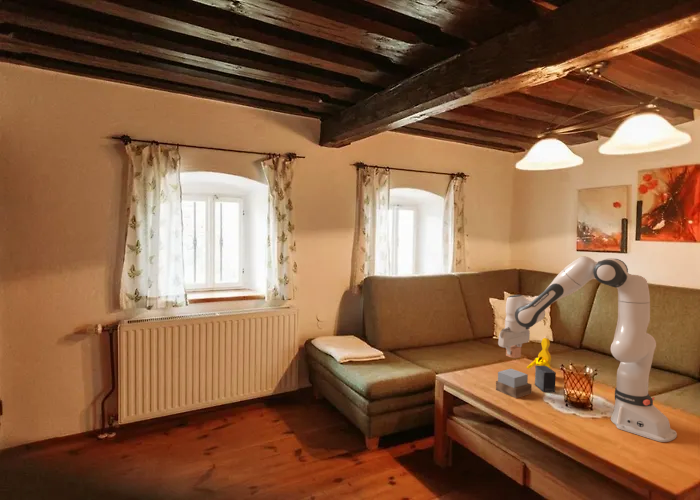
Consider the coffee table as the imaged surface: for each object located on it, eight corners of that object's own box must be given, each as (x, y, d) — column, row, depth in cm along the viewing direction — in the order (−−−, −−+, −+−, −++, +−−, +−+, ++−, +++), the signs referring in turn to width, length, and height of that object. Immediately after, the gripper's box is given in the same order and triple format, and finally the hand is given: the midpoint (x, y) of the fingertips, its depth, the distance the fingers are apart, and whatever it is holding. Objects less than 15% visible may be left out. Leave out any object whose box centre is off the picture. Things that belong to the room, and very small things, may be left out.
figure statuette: (524, 373, 232) (524, 335, 231) (532, 371, 236) (533, 334, 234) (552, 384, 216) (553, 343, 215) (561, 381, 220) (562, 341, 219)
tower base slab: (531, 394, 204) (531, 384, 204) (515, 399, 198) (516, 389, 198) (511, 386, 215) (511, 376, 215) (495, 390, 209) (496, 381, 208)
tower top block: (527, 384, 205) (527, 374, 204) (514, 388, 200) (514, 378, 199) (510, 377, 213) (511, 368, 213) (497, 381, 208) (498, 371, 208)
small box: (556, 392, 205) (556, 372, 205) (543, 392, 206) (543, 372, 205) (546, 384, 216) (547, 365, 215) (534, 384, 216) (534, 365, 215)
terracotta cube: (520, 356, 205) (521, 347, 204) (514, 358, 202) (514, 348, 202) (512, 354, 209) (512, 344, 209) (506, 355, 206) (506, 346, 206)
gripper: (506, 330, 197) (505, 358, 197) (532, 325, 207) (531, 351, 208) (495, 327, 202) (494, 354, 203) (521, 322, 213) (520, 348, 213)
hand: (513, 353), depth 205 cm, fingers closed on terracotta cube, 5 cm apart
